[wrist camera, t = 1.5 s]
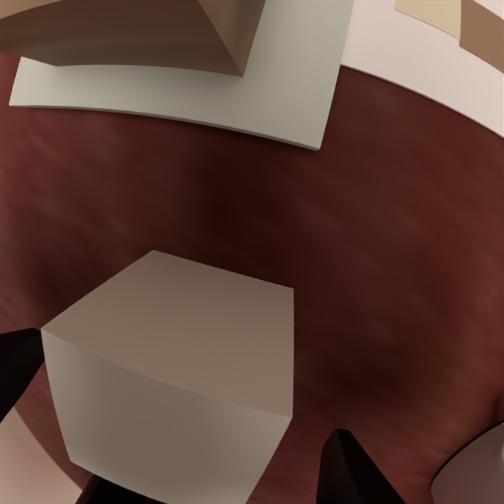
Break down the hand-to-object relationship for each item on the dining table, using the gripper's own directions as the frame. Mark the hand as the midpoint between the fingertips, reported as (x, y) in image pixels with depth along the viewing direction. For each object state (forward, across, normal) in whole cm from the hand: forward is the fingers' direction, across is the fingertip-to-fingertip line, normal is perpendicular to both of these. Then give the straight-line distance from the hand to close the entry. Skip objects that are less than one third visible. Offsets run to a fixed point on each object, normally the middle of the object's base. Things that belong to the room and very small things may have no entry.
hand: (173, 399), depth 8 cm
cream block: (+4, 0, 0) cm, 4 cm away
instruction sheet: (+4, -6, -14) cm, 16 cm away
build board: (+4, +4, -12) cm, 13 cm away
